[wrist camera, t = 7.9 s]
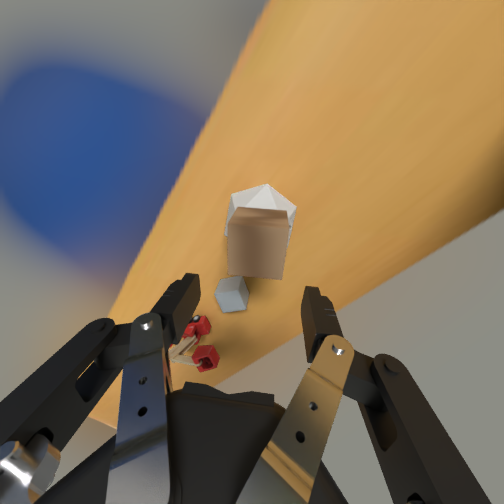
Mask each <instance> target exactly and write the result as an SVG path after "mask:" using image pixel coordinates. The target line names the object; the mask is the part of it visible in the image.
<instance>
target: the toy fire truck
mask: <svg viewBox="0 0 504 504" xmlns="http://www.w3.org/2000/svg"><path fill="white" fill-rule="evenodd" d="M210 328H211V325H210V323H209V322H208V320H207V318H206V316H201V318H200V316H199V315H197V316H195V317H194V318H192V317H191V319H190V321H189V323H188V325H187V327H186V329H185V332H184V334H183V336H182V337H184V340H183V341H181V342H180V343H179V344H178V345H176V346H175V347H173V348H172V349H171V350H169V359H170V360H171V361H172V363H175V362H178V363H183V364H188V365H193V366H197V368H198V370H199V372H204V371H207V370H211V369H214V368H216V367H217V365H218V362H219V359H220V357H219V355H218V353H217V351H216V350H215V348H214V346H213V345H206V346H204V345H203V346H198V347H197V349H196V350H195V352H194V354H193V356H192V357H191V356H186V355H183V354H184V353H185V352H186V351H187V350H188V349H189V348H190V347H191V346H192V345H193V344H194V345H196V344H198V342H199V340H200V337H201V335H205V334H209V331H210ZM172 345H173V344H171V345H170V347H172ZM170 347H169V348H170Z"/></svg>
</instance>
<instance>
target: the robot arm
mask: <svg viewBox="0 0 504 504" xmlns="http://www.w3.org/2000/svg"><path fill="white" fill-rule="evenodd" d="M200 296H201V291H200V280H199V275H198V274H192V273H186V274H185V275H184V277H183V278H182V280H176V281H175V282H173V283H172V284H170V286H169V287H168V288H167V290H166V291H165V292H164V294H163V296H161V298H160V299H159V300H158V302H157V303H156V304H155V306H154V307H153V308H152V310H151V311H150V312H149V313H145V314H142V315H140V316H139V317H137V318H136V319H135V320H134V321H133V322H132V323H126V324H119V325H115V323H114V321H113V320H112V319H110V318H101V319H97V320H95V321H93V322H91V323H89V324H88V325H86V326H85V327H84V328H83V329H82V330H81V331H80V332H78V334H76V335H75V336H74V337H73V338H72V339H71V340H69V341H68V342H67V343H66V344H65V345H64V346H63V347H62V348H61V349H59V351H57V352H56V353H55V354H54V355H53V356H52V357H51V358H49V359H48V360H47V361H46V362H45V363H44V364H43V365H41V366H40V367H39V368H38V369H37V370H36V371H35V372H34V373H33V374H32V375H30V376H29V377H28V378H27V379H26V380H25V381H24V382H22V384H20V385H19V386H18V387H17V388H16V389H15V390H14V391H12V392H11V393H10V394H9V395H8V396H7V397H6V398H5V399H3V400H2V401H1V402H0V504H348V502H347V500H346V499H345V497H344V496H343V494H342V492H341V491H340V489H339V488H338V486H337V485H336V483H335V481H334V480H333V478H332V476H331V475H330V473H329V472H328V470H327V468H326V467H325V465H324V463H323V462H322V460H321V458H322V456H323V452H324V449H325V446H326V443H327V440H328V437H329V434H330V431H331V428H332V425H333V422H334V418H335V416H336V412H337V409H338V406H339V403H340V400H341V397H342V394H343V395H345V396H348V397H350V398H352V399H354V400H356V401H357V402H358V405H359V408H360V411H361V413H362V416H363V419H364V422H365V425H366V428H367V430H368V433H369V436H370V439H371V441H372V444H373V447H374V450H375V453H376V456H377V458H378V461H379V464H380V466H381V470H382V472H383V475H384V478H385V481H386V484H387V486H388V489H389V492H390V495H391V498H392V500H393V503H394V504H491V502H490V500H489V499H488V497H487V496H486V494H485V492H484V491H483V489H482V488H481V486H480V484H479V483H478V481H477V480H476V478H475V476H474V475H473V473H472V472H471V470H470V468H469V467H468V465H467V464H466V462H465V460H464V459H463V457H462V456H461V454H460V453H459V451H458V449H457V448H456V446H455V445H454V443H453V442H452V440H451V438H450V437H449V436H448V433H447V432H446V430H445V429H444V427H443V426H442V424H441V422H440V421H439V419H438V418H437V416H436V414H435V413H434V411H433V409H432V408H431V406H430V405H429V403H428V401H427V400H426V398H425V397H424V395H423V394H422V392H421V390H420V389H419V387H418V385H417V384H416V382H415V381H414V379H413V378H412V376H411V375H410V373H409V371H408V370H407V368H406V367H405V366H404V365H403V364H402V363H401V362H400V361H399V360H398V359H396V358H394V357H392V356H390V355H387V354H378V355H376V356H375V358H372V357H369V356H367V355H364V354H361V353H359V352H357V351H355V350H354V349H353V347H352V345H351V344H350V343H349V342H348V341H347V340H346V339H345V338H344V337H343V334H342V331H341V328H340V325H339V322H338V320H337V316H336V313H335V311H334V307H333V304H332V302H331V301H330V300H329V299H328V298H327V296H321V294H320V291H319V288H318V287H311V286H306V287H305V290H304V295H303V299H302V304H301V319H302V326H303V334H304V340H305V348H306V356H307V362H308V363H312V364H311V366H310V368H308V369H307V371H306V373H305V374H304V377H303V379H302V380H301V382H300V384H299V386H298V388H297V390H296V392H295V394H294V396H293V398H292V399H291V401H290V403H289V405H288V407H287V409H285V408H283V407H282V406H280V405H279V404H277V403H275V402H274V394H267V393H260V392H254V391H250V392H243V393H236V394H226V393H223V392H221V391H219V390H217V389H215V388H213V387H211V386H209V385H206V384H199V383H192V382H185V384H184V387H183V389H180V390H176V391H173V387H172V380H171V370H170V360H169V351H168V349H169V347H170V345H171V344H177V345H178V344H179V342H180V340H181V338H182V336H183V334H184V332H185V329H186V327H187V325H188V323H189V321H190V319H191V317H192V315H193V313H194V311H195V309H196V307H197V305H198V303H199V301H200ZM93 360H94V362H93ZM92 362H93V363H92ZM91 363H92V364H91ZM90 364H91V365H90ZM89 365H90V366H89ZM88 366H89V367H88ZM87 367H88V369H87V370H86V371H85V372H84V370H85V369H86V368H87ZM122 369H123V375H122V384H121V394H120V404H119V414H118V424H117V434H115V435H114V436H113V437H112V438H110V439H109V440H108V441H107V442H106V443H104V444H103V445H102V446H101V447H100V448H98V449H97V450H96V451H95V452H93V453H92V454H91V455H90V456H89V457H87V458H86V459H85V460H84V461H83V462H81V463H80V464H79V465H78V466H77V467H75V468H74V469H73V470H72V471H70V472H69V473H68V474H67V475H66V476H64V477H63V478H62V479H61V480H60V481H58V482H57V483H56V484H55V485H54V486H52V487H51V488H50V489H49V490H47V491H46V489H47V488H48V487H49V486H50V485H51V483H52V482H53V480H54V477H55V473H56V471H57V469H58V466H59V463H60V458H61V457H60V452H61V451H62V450H63V448H64V447H65V446H66V444H67V443H68V442H69V440H70V439H71V438H72V436H73V435H74V433H75V432H76V431H77V429H78V428H79V427H80V426H81V424H82V423H83V421H84V420H85V419H86V417H87V416H88V415H89V413H90V412H91V411H92V409H93V408H94V407H95V405H96V404H97V403H98V401H99V400H100V399H101V397H102V396H103V395H104V393H105V392H106V391H107V389H108V388H109V387H110V385H111V384H112V383H113V381H114V380H115V378H116V377H117V376H118V374H119V373H120V372H121V370H122ZM83 372H84V373H83ZM82 373H83V374H82ZM81 374H82V375H81ZM80 375H81V376H80ZM79 376H80V377H79ZM78 377H79V379H78ZM77 379H78V380H77Z"/></svg>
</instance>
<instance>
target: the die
mask: <svg viewBox="0 0 504 504" xmlns="http://www.w3.org/2000/svg"><path fill="white" fill-rule="evenodd" d="M237 207H249V208H261V209H274V210H287V215H288V222H289V236H288V243H287V247H288V244H289V240H290V235H291V231H292V226H293V222H294V217H295V213H296V208H297V207H296V206H295V205H294V204H292V203H291V202H290V201H289V200H287V199H286V198H285V197H284V196H282V195H281V194H280V193H279V192H277V191H276V190H275V189H274V188H272V187H271V186H270V185H269V184H264V185H261V186H257V187H254V188H250V189H247V190H244V191H240V192H237V193H233V194H231V199H230V205H229V210H228V216H227V221H226V227H225V233H224V235H225V236H227V237H228V235H227V224H228V222H229V220H230V219H231V217H232V215H233V214H234V212H235V210H236V209H237Z"/></svg>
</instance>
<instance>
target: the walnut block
mask: <svg viewBox="0 0 504 504" xmlns="http://www.w3.org/2000/svg"><path fill="white" fill-rule="evenodd" d="M227 235H228V275H236V276H246V277H256V278H266V279H275V280H282V277H283V270H284V263H285V256H286V250H287V243H288V236H289V222H288V215H287V210H274V209H261V208H249V207H237V209H236V210H235V212H234V214H233V215H232V217H231V219H230V220H229V222H228V224H227Z"/></svg>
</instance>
